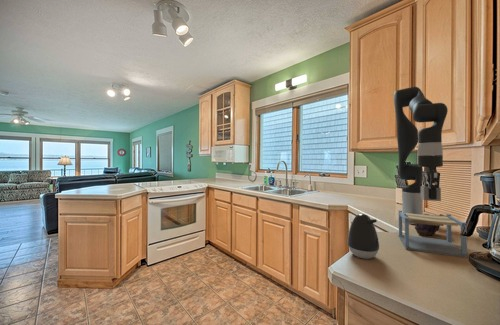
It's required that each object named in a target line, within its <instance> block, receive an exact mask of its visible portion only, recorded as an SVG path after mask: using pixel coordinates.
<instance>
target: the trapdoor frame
mask: <svg viewBox="0 0 500 325" xmlns="http://www.w3.org/2000/svg"><path fill="white" fill-rule="evenodd" d="M397 214H398V238H399V240H400V241H401V243H402V245H403V247H404V248H405V250H408V251H414V252H415V251H417V252H423V253H430V254H438V255H443V256H451V257H460V258H465V257H466V259H469V254H468V238H467V237H468V236H461V235H460V247H459V246H457V245H456V244H455V243H454V242H453V240H452V225H446V239H442V238H432V237H426V236H414V235H410V224H409V218H408V217H406V216H405V215H404V214H403V213H402V210H398V213H397ZM445 216H446V217H449V218H450V219H451V220H453V221H455V222H457V223H458V226H460V234H461V233H462V231H463V228H464V226H465V230H464V232H466V233H468V231H467V230H468V228H467V222H466V221H465V222H464V221H461V220H459V219H457V218H455V217H454V216H452V214H449V213H447V214H446V215H445ZM403 220H404V222H403ZM403 223H404V234H403ZM465 224H466V225H465Z"/></svg>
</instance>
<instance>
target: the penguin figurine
mask: <svg viewBox="0 0 500 325" xmlns="http://www.w3.org/2000/svg"><path fill="white" fill-rule="evenodd" d="M377 222H378V221H377V219H376V218H375V219H374V218H372V219H371V217H370V216H368V215H367V214H366V213H359V214H357V215H355V216H354V218H353V219H352V220H351V224H350V227H349V230H348V234H347V246H348V248H349V251H350V252H351V254H353V256H356V257H357V258H360V259H365V260H369V259H373V258H374V257H376V256H377V254H378V252H379V250H380V241H379V237H378V236H379V235H378V233H377V230H376V227H375V225H374V224H375V223H377Z"/></svg>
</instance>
